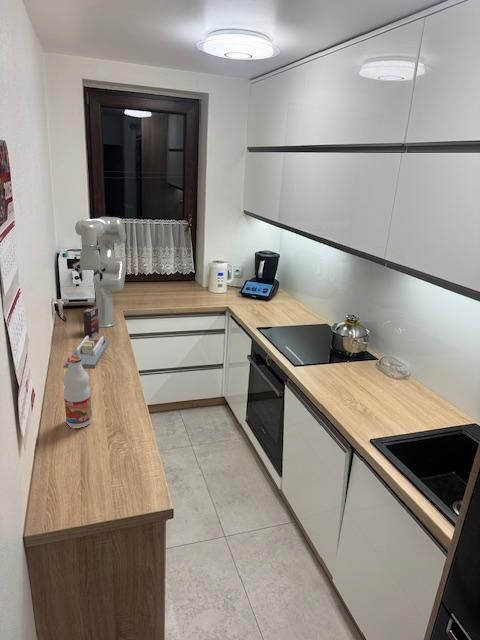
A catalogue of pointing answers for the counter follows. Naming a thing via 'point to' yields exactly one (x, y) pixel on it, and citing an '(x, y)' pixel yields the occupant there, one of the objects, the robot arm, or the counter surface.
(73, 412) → the fruit juice
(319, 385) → the counter surface
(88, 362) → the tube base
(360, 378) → the counter surface
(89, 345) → the maple block
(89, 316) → the supplement box
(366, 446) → the counter surface
